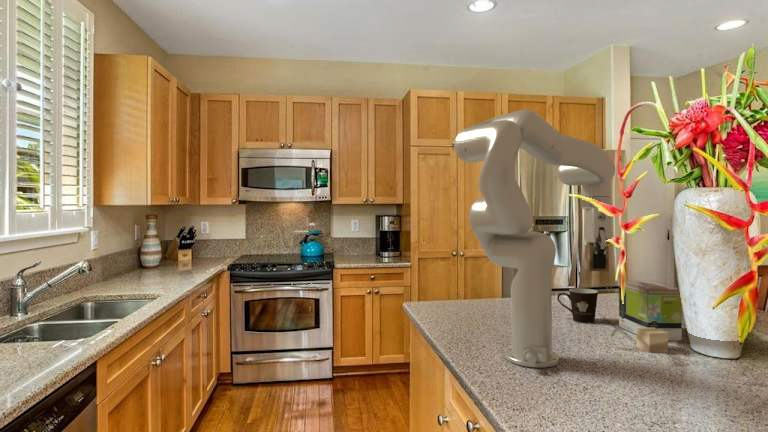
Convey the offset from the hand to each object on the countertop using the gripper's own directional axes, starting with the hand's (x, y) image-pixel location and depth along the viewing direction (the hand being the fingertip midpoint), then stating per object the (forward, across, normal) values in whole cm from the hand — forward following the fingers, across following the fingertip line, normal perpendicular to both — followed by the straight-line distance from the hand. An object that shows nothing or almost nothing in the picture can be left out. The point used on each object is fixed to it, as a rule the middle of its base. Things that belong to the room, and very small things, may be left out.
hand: (596, 266), depth 119 cm
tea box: (+21, +8, -16) cm, 27 cm away
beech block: (+21, -8, -12) cm, 25 cm away
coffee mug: (+21, +20, 0) cm, 29 cm away
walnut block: (+1, 0, 0) cm, 1 cm away
